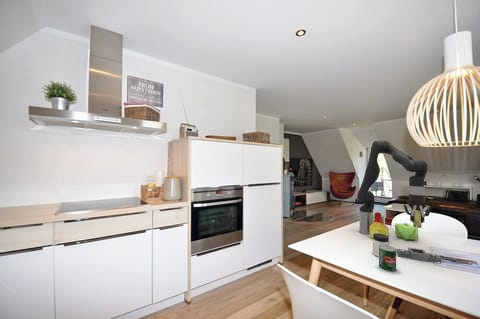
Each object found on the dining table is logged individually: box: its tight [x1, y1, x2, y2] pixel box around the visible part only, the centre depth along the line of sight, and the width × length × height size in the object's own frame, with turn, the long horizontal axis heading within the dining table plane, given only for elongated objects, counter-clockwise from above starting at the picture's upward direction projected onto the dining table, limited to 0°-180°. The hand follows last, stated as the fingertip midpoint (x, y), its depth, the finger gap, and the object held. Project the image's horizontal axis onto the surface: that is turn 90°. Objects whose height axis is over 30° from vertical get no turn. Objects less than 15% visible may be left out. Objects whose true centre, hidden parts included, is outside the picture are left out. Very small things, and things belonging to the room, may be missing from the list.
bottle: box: [369, 211, 390, 239], centre depth 157 cm, size 12×6×20 cm, turn 44°
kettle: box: [392, 222, 419, 241], centre depth 159 cm, size 15×14×11 cm
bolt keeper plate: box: [395, 247, 443, 264], centre depth 128 cm, size 20×8×4 cm, turn 63°
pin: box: [412, 210, 422, 229], centre depth 128 cm, size 4×4×10 cm
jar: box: [372, 234, 390, 258], centre depth 132 cm, size 9×8×12 cm
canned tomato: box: [378, 245, 397, 273], centre depth 117 cm, size 8×8×11 cm
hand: (417, 222), depth 128 cm, fingers closed on pin, 3 cm apart
